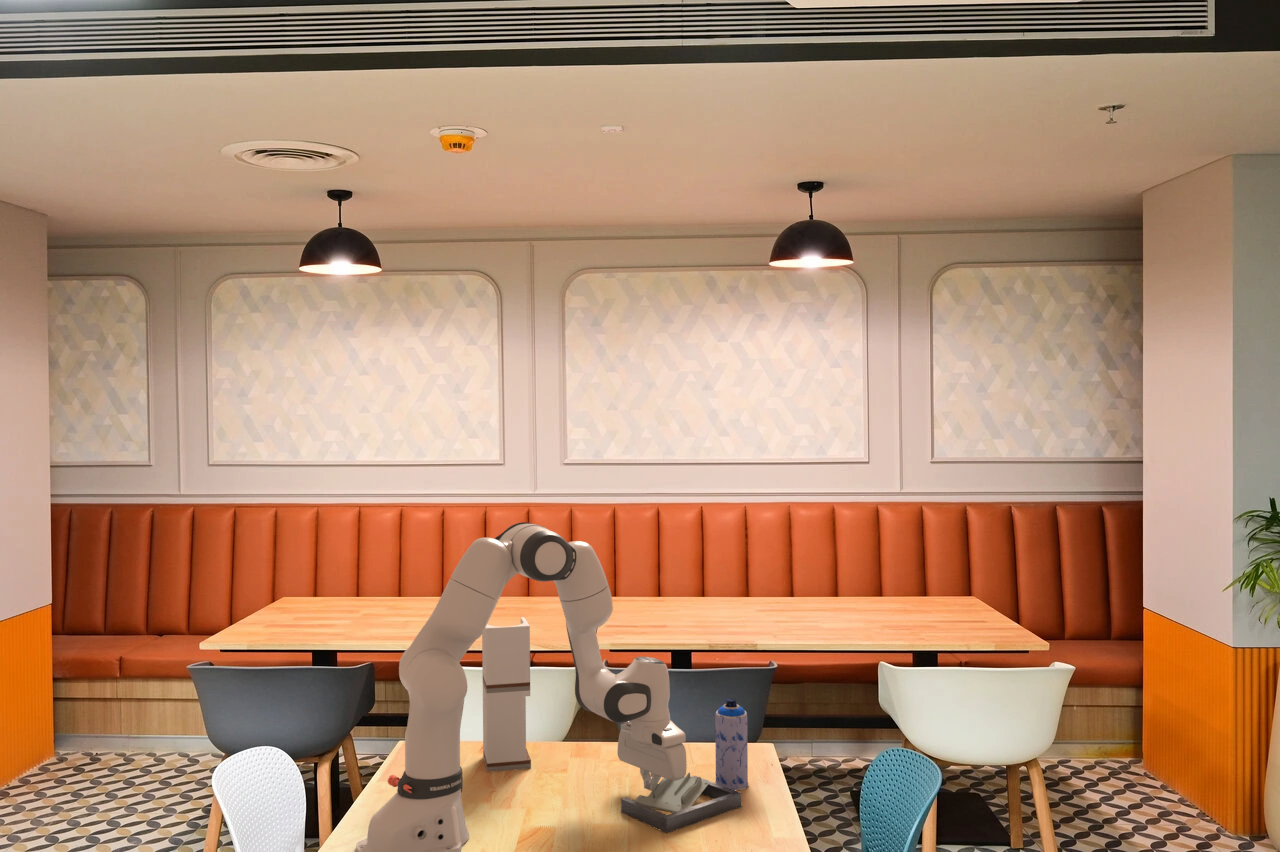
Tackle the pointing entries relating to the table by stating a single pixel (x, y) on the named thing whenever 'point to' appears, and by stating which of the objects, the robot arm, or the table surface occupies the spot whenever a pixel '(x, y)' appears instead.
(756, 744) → the table surface
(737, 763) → the aerosol can
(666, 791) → the metal bracket
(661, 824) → the steel u-shaped frame
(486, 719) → the banded square pillar
